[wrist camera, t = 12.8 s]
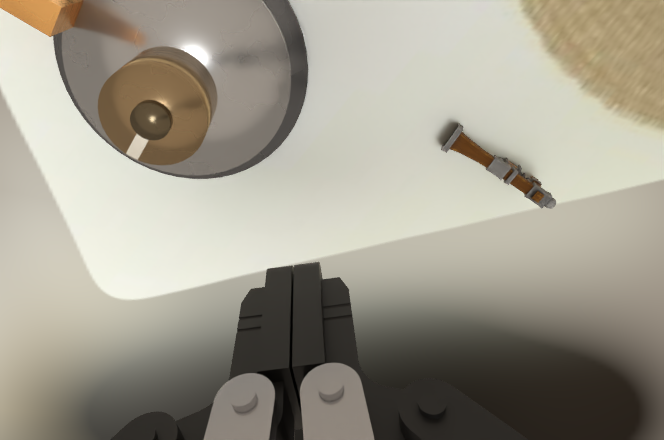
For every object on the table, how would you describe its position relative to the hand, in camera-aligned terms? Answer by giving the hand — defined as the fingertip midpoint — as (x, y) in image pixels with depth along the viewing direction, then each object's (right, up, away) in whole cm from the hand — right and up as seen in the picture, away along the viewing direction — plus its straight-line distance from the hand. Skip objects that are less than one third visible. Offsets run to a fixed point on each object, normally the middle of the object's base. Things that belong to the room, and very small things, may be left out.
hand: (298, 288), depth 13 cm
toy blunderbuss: (+12, +7, +18) cm, 23 cm away
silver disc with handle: (-9, +11, +12) cm, 19 cm away
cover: (-8, +9, +12) cm, 17 cm away
